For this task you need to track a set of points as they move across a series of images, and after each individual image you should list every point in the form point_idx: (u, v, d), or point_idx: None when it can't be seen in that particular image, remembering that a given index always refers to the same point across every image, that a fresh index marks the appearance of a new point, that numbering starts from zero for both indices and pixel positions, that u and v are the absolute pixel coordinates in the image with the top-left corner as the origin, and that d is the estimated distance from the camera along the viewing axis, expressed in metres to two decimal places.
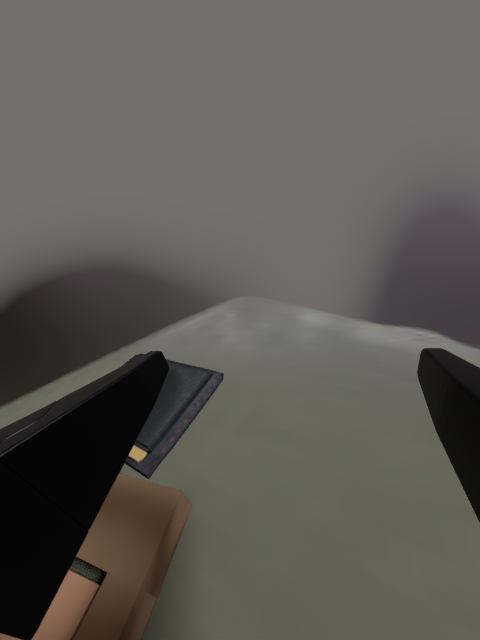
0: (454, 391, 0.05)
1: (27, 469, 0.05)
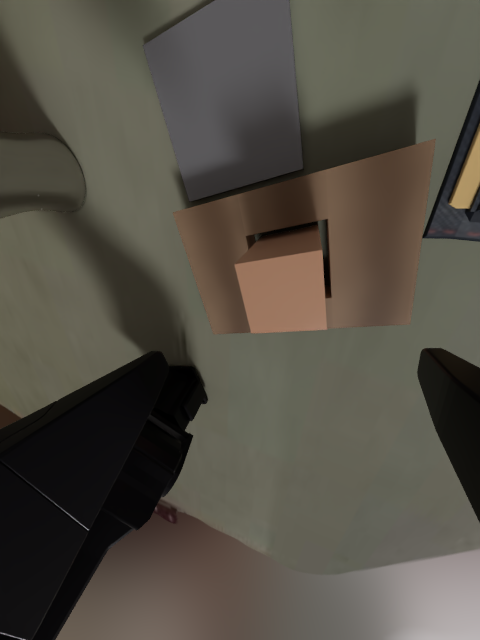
0: (454, 391, 0.05)
1: (26, 470, 0.05)
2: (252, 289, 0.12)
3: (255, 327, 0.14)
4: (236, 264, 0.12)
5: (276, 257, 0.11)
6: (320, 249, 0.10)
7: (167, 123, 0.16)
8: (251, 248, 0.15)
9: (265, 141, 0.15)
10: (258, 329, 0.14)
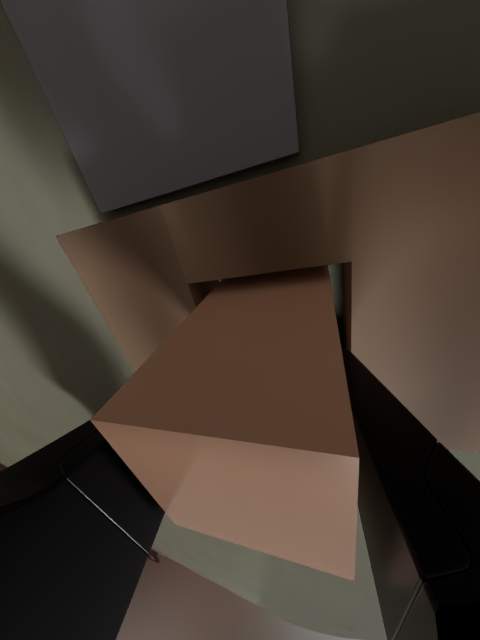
0: None
1: (93, 489, 0.04)
2: (152, 472, 0.05)
3: (181, 521, 0.06)
4: (96, 420, 0.04)
5: (199, 430, 0.03)
6: (350, 444, 0.03)
7: (31, 62, 0.08)
8: (185, 322, 0.07)
9: (219, 93, 0.07)
10: (188, 525, 0.06)
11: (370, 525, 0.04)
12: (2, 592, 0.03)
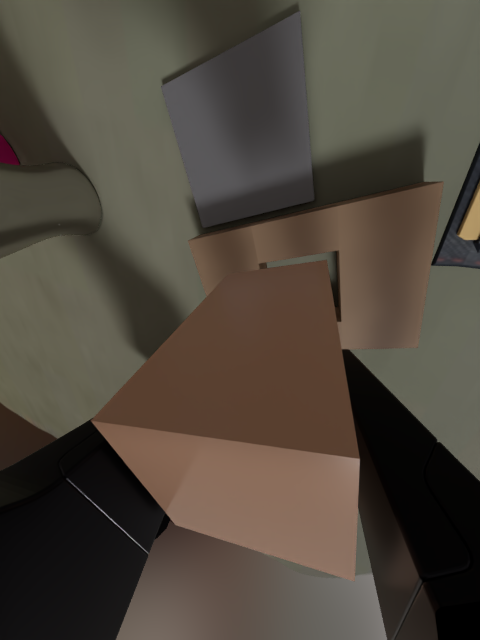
0: None
1: (93, 489, 0.04)
2: (153, 472, 0.05)
3: (181, 521, 0.06)
4: (96, 420, 0.04)
5: (199, 431, 0.03)
6: (351, 445, 0.03)
7: (183, 156, 0.17)
8: (186, 322, 0.07)
9: (277, 175, 0.15)
10: (189, 525, 0.06)
11: (370, 525, 0.04)
12: (2, 592, 0.03)
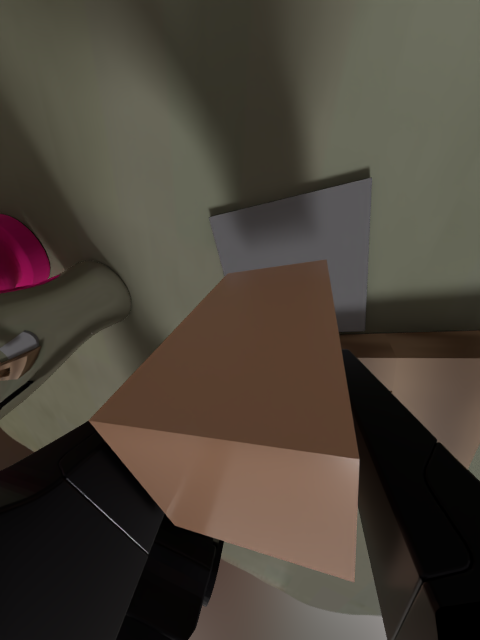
0: None
1: (93, 489, 0.04)
2: (151, 472, 0.05)
3: (180, 522, 0.06)
4: (94, 420, 0.04)
5: (198, 431, 0.03)
6: (350, 445, 0.03)
7: None
8: (185, 322, 0.07)
9: None
10: (187, 526, 0.06)
11: (370, 525, 0.04)
12: (2, 592, 0.03)
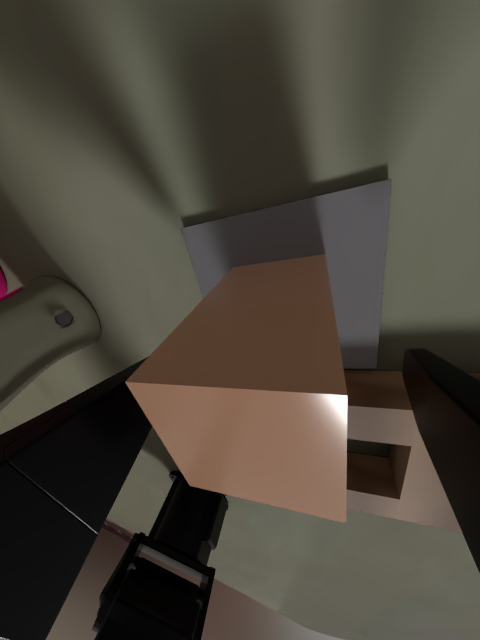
0: (432, 390, 0.05)
1: (36, 472, 0.05)
2: (174, 429, 0.05)
3: (195, 480, 0.07)
4: (130, 382, 0.05)
5: (219, 384, 0.04)
6: (341, 387, 0.03)
7: None
8: (198, 307, 0.08)
9: None
10: (201, 484, 0.07)
11: None
12: None
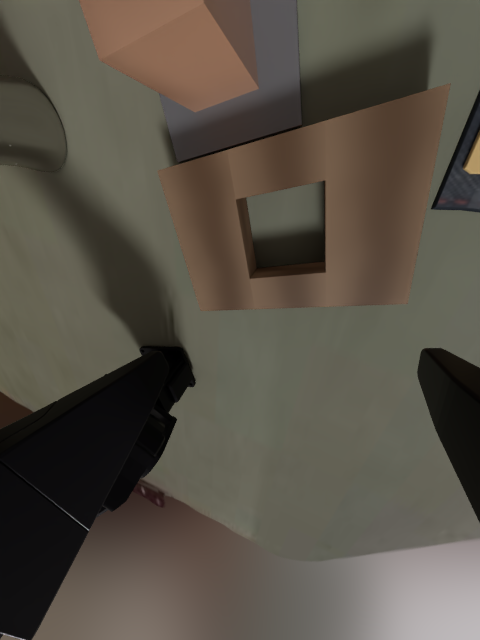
0: (454, 391, 0.05)
1: (26, 470, 0.05)
2: None
3: (101, 40, 0.08)
4: None
5: None
6: None
7: None
8: None
9: (260, 90, 0.13)
10: (106, 44, 0.08)
11: None
12: None
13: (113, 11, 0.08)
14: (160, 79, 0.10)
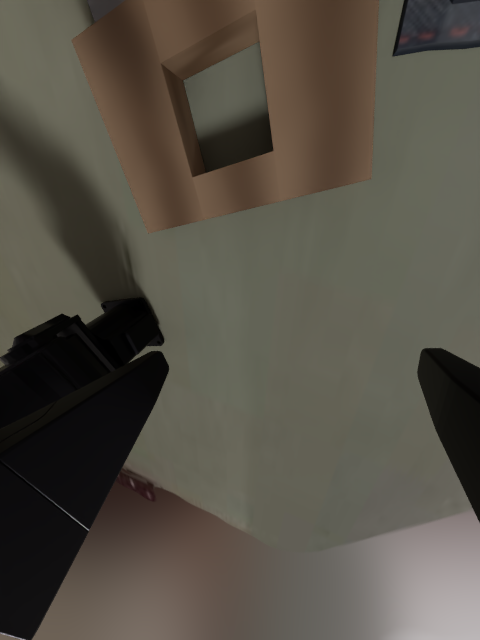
0: (454, 391, 0.05)
1: (27, 469, 0.05)
2: None
3: None
4: None
5: None
6: None
7: None
8: None
9: None
10: None
11: None
12: None
13: None
14: None
